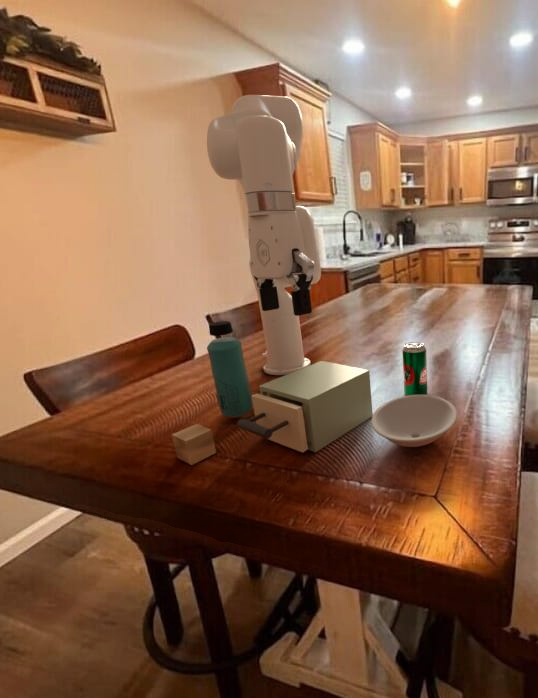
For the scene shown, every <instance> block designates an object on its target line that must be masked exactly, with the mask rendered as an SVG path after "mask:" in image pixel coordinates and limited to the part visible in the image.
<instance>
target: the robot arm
mask: <svg viewBox="0 0 538 698" xmlns="http://www.w3.org/2000/svg"><path fill="white" fill-rule="evenodd" d="M303 124H304V123H303V115H302V112H301V109H300V107H299V105H298V104H297V102H296V101H295V100H294V99H293V98H291V97H288V96H282V95H281V96H280V95H264V94H263V95H262V94H246V95H242V96H240V97H238V98H236V100H235V101H234V102H233V104H232V107H231V113H227V114H224V115H221V116H218V117H215V118H214V119H212V120H211V121H210V122H209V124H208V126H207V132H206V150H207V151H206V152H207V157H208V159H209V160H208V161H209V164H210V166H211V168H212V170H213V172H214V173H215V174H216V175H217V176H219V177H220V178H222V179H223V180H224V179H225V180H229V181H230V180H231V181H232V180H238V183H239V184H240V186H241V188H242V191H243V195H244V201H245V207H246V214H247V220H248V221H247V224H248V225H247V234H248V235H247V236H248V247H249V257H250V258H249V263H248V265H249V271H250V275H251V278H252V282H253V284H254V287H255V292H256V295H257V300H258V305H259V312H260V318H261V323H262V324H261V325H262V330H263V336H264V341H265V352H263V353H262V354H261V358H264V359H266V363H265V364H264V365H263V366H262V367H263V372H264V373H265V374H268V375H271V376H285V375H287V374H290V373H292V372H295V371H297V370H300V369H302V368H305V367H307V366H310V365H312V364H311V363H312V362H311V360H310V359H309V358H307V357H305V353H304V346H303V338H302V331H301V323H300V316H303V315H308V314H309V315H310V314H312V312H313V309H312V301H311V292H310V290H311V289H312V285H315V284H317V283H319V281H320V280H321V277H322V266H321V260H320V254H319V253H320V252H319V247H318V241H317V235H316V230H315V224H314V219H313V216H312V213H311V212H310V210H309V209H308V208H307V207H305V206H302V205H297V204H296V198H295V189H294V181H293V175H294V173H295V170H296V169H297V167H298V163H299V161H300V159H301V154H302V144H303V135H304V125H303ZM290 287H291V288H292V291H290V293H289V292H288V291H287V290H286V289H285V288H290Z"/></svg>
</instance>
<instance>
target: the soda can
mask: <svg viewBox="0 0 538 698" xmlns="http://www.w3.org/2000/svg"><path fill="white" fill-rule="evenodd" d="M401 351H402V370H403V393H404V394H403V395H404V396H409V395H428V363H427V361H428V360H427V348H426V346H425V343H423V342H419V341H411V342H406V343H404V344H403V348H402V350H401Z"/></svg>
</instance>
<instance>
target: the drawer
mask: <svg viewBox="0 0 538 698" xmlns="http://www.w3.org/2000/svg"><path fill="white" fill-rule="evenodd" d="M251 398H252V403H253V412H254V416H252V417H250V418H248V419H245V418H240V419H238V421H237V424H236V426H237V428H238V429H240V430H243V431H246V432H248V433H251V434H253V435H256V436H258V437H261V438H264V439H266V440H268V441H271V442H274V443H276V444H279V445H281V446H284V447H287V448H290V449H292V450H295V451H297V452H300V453H304V452H306V451H307V450H308V447H307V441H308V442H311V441H310V433H309V426H308V418H307V410H306V404H305V403H302V402H298V401H295V400H291V399H288V398H285V397H281V396H278V395H274V394H271V393H267V396H264V395H261V394H260V393H254V394H252V396H251ZM308 451H309V450H308Z"/></svg>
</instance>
